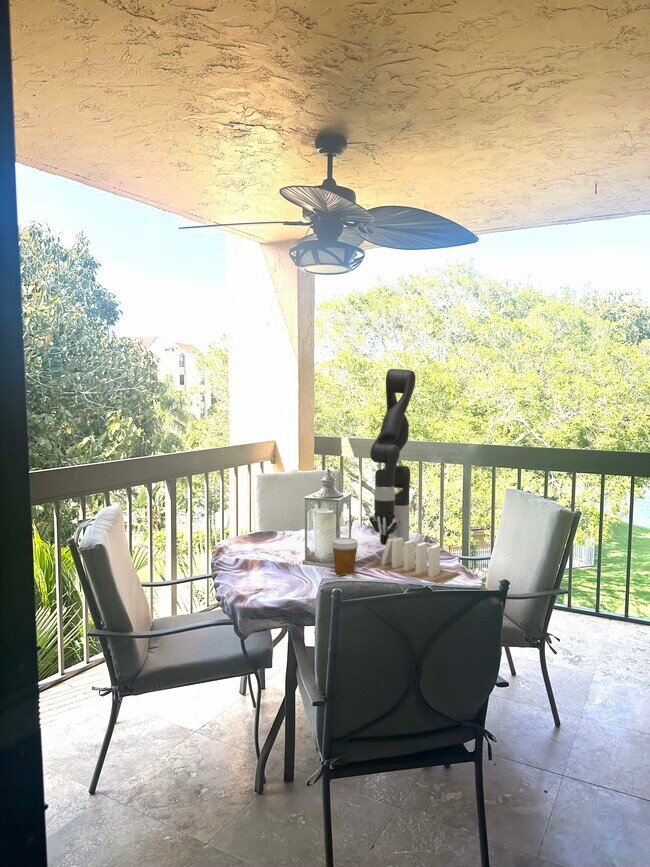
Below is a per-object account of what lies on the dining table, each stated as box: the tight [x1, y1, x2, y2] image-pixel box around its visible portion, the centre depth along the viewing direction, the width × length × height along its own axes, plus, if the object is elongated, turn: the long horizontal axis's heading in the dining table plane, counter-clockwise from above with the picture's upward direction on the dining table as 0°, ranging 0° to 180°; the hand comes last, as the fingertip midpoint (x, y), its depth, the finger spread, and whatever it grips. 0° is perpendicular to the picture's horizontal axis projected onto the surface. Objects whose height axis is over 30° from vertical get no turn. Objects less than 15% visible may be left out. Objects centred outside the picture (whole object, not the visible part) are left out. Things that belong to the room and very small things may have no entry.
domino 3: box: [403, 539, 416, 571], centre depth 204 cm, size 2×5×10 cm, turn 139°
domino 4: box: [415, 541, 428, 574], centre depth 200 cm, size 2×5×10 cm, turn 140°
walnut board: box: [364, 557, 462, 585], centre depth 203 cm, size 32×14×1 cm, turn 50°
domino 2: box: [392, 537, 404, 568], centre depth 207 cm, size 2×5×10 cm, turn 140°
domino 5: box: [427, 544, 441, 577], centre depth 197 cm, size 2×5×10 cm, turn 140°
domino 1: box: [381, 537, 397, 565], centre depth 209 cm, size 2×5×10 cm, turn 140°
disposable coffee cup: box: [331, 537, 359, 577], centre depth 201 cm, size 10×10×12 cm
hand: (384, 544), depth 210 cm, fingers closed
